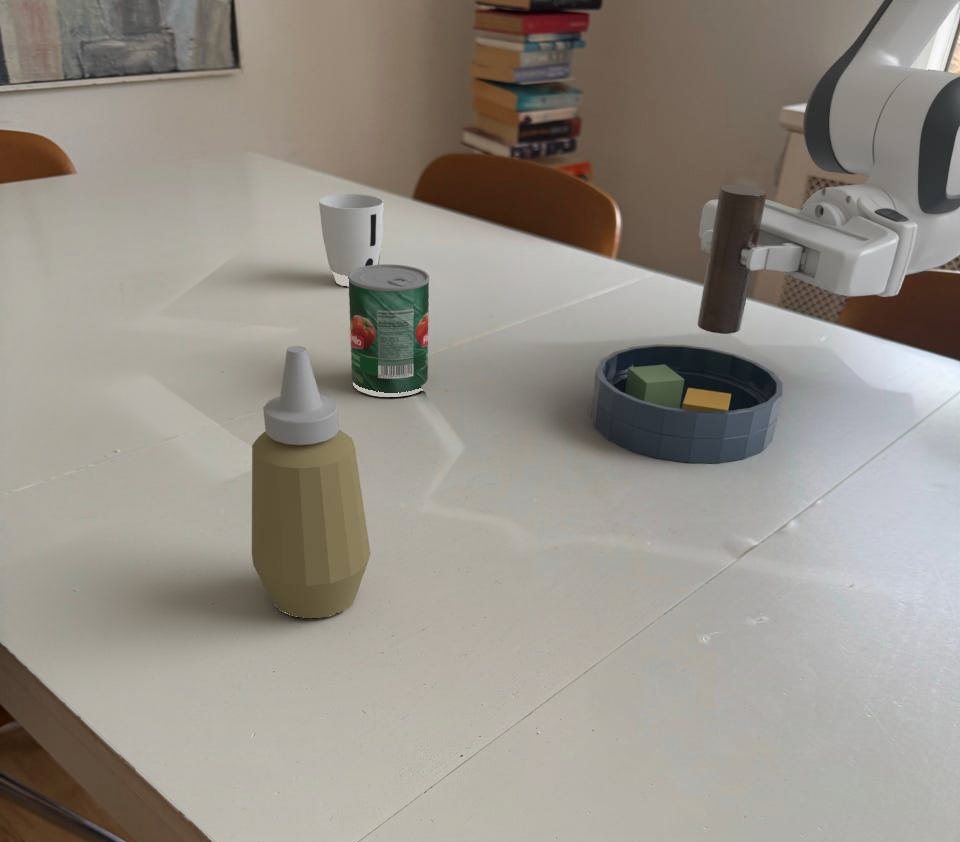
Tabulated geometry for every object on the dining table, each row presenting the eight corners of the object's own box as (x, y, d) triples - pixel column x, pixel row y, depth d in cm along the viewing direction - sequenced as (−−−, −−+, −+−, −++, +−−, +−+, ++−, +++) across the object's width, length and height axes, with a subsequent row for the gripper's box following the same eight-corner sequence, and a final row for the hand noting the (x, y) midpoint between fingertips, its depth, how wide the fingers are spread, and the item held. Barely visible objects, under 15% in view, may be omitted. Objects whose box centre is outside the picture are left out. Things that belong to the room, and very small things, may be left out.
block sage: (659, 403, 100) (665, 364, 98) (678, 418, 97) (684, 379, 95) (623, 406, 99) (628, 367, 97) (640, 422, 96) (646, 382, 93)
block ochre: (723, 434, 94) (731, 393, 92) (719, 451, 91) (727, 409, 89) (681, 427, 95) (688, 387, 93) (676, 444, 92) (682, 403, 90)
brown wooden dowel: (733, 319, 96) (759, 185, 89) (745, 334, 92) (772, 195, 85) (692, 319, 95) (715, 184, 88) (702, 333, 92) (727, 194, 85)
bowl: (742, 397, 104) (752, 345, 101) (794, 472, 90) (808, 414, 87) (579, 395, 103) (584, 342, 100) (606, 470, 89) (614, 412, 86)
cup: (376, 293, 127) (375, 210, 122) (315, 288, 128) (310, 205, 122) (391, 276, 134) (390, 196, 128) (332, 270, 135) (329, 191, 129)
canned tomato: (336, 380, 104) (331, 271, 97) (398, 364, 108) (397, 259, 101) (381, 405, 99) (379, 292, 92) (443, 387, 103) (445, 279, 97)
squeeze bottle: (395, 598, 71) (391, 350, 61) (307, 646, 66) (287, 385, 56) (320, 556, 75) (304, 318, 65) (232, 598, 70) (200, 347, 60)
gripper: (771, 177, 100) (660, 187, 95) (932, 228, 86) (813, 242, 80) (758, 242, 104) (651, 255, 98) (911, 301, 90) (796, 320, 84)
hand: (725, 250), depth 89 cm, fingers closed on brown wooden dowel, 4 cm apart
